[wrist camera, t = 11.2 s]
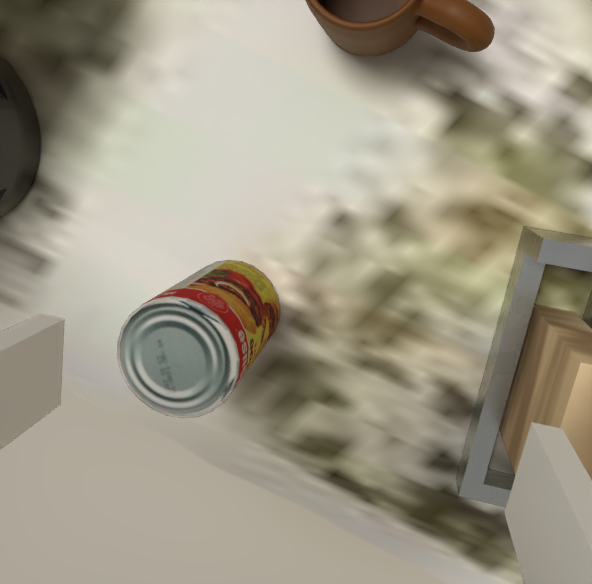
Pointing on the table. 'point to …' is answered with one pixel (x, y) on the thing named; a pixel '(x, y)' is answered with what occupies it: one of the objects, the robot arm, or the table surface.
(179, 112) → the table surface
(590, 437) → the door panel
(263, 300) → the canned food
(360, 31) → the mug
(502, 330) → the track
